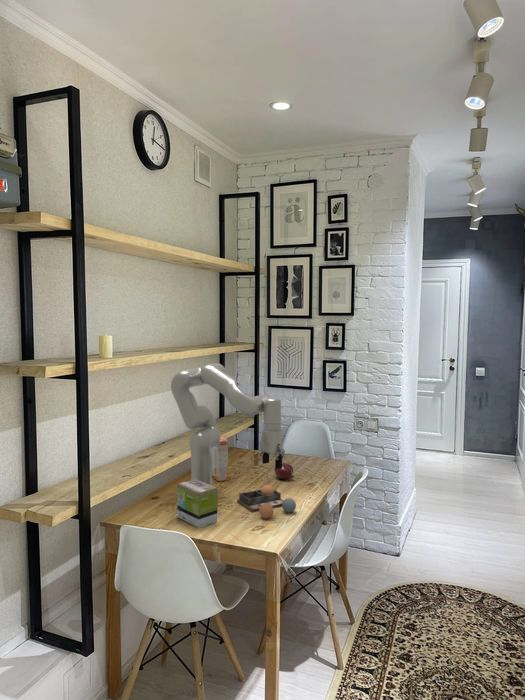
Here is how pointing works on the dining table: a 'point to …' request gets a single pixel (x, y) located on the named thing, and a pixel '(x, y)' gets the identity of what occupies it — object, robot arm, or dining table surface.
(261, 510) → the terracotta ball
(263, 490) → the seated terracotta ball
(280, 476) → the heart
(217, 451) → the cracker box
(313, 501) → the dining table surface
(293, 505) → the slate ball
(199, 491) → the tea box
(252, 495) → the grey divided tray
